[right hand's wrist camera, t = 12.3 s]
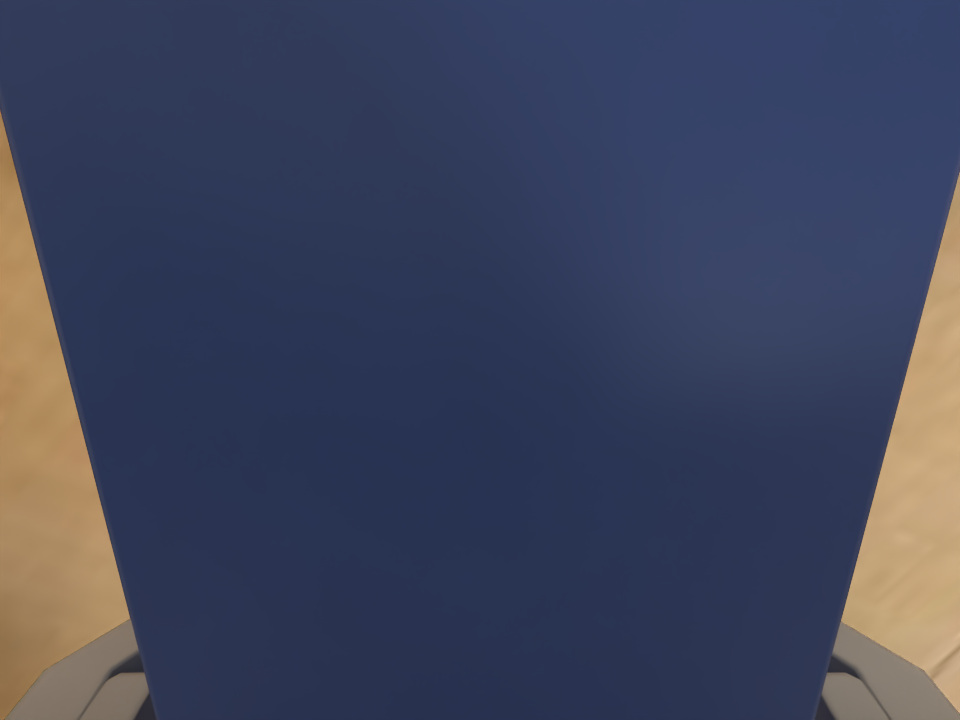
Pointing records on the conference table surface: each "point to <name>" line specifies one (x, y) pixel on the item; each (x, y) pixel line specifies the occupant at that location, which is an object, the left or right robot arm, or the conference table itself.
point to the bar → (485, 335)
